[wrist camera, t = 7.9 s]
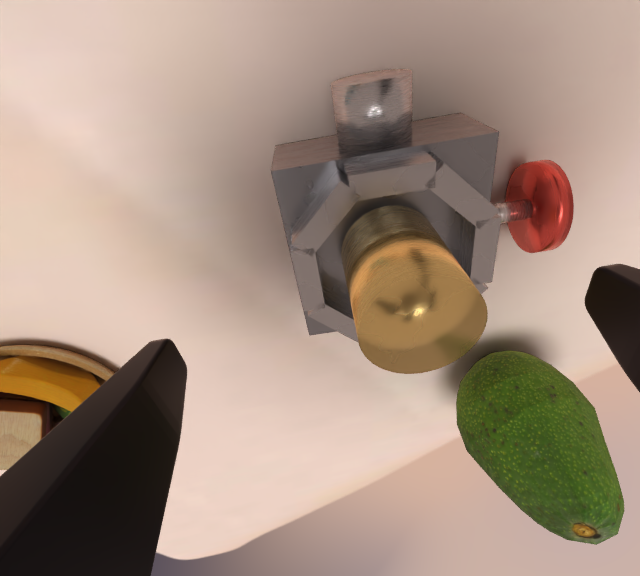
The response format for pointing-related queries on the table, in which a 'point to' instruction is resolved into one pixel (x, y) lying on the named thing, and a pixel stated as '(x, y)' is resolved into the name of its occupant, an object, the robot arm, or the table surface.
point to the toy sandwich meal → (40, 393)
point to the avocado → (540, 445)
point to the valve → (404, 190)
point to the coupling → (408, 293)
